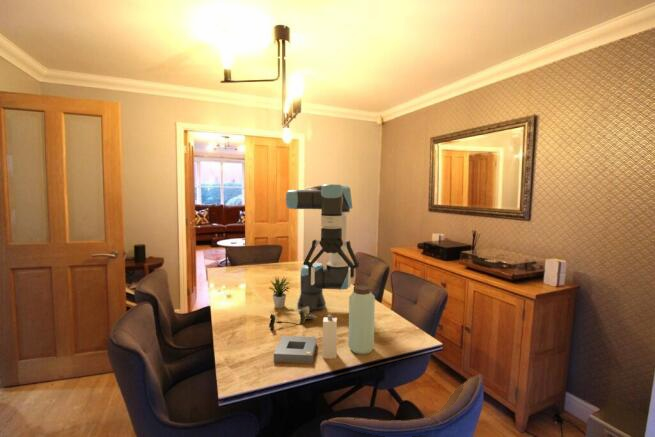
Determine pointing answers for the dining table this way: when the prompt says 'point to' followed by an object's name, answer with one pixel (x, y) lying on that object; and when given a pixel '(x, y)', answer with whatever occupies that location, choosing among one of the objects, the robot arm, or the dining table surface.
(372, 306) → the water bottle
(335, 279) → the robot arm
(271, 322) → the artificial flower
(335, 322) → the cream long rectangular block
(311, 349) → the socket
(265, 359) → the dining table surface
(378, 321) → the dining table surface
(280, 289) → the house plant
